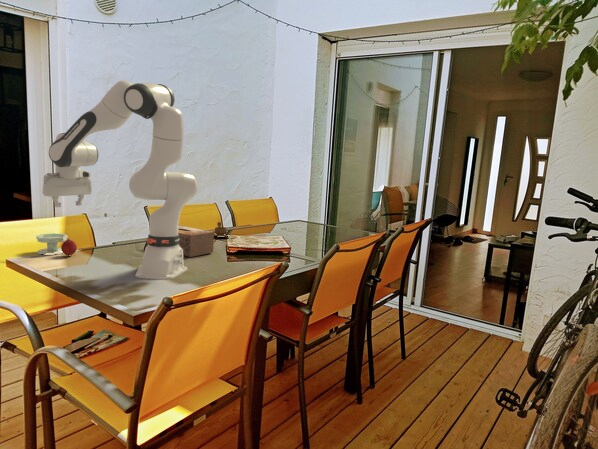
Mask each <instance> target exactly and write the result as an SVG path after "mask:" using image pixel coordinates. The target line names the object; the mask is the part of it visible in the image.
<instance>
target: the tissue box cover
mask: <svg viewBox="0 0 598 449" xmlns="http://www.w3.org/2000/svg"><path fill="white" fill-rule="evenodd" d="M214 232H215V231H211V230H207V229H206V230H205V229H199V228H195V227H190V226H186V225H179V228H178V234H179V238H180V240H179V246H180V247H181V248H182V249H183V257H184V256H185V257H187V258H189V257H190V258H192V257H193V258H194V257H196V256H197V257H198V256H202V255H206V254H211V253H214V244H215V243H214V238H215V237H214Z"/></svg>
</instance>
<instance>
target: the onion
mask: <svg viewBox="0 0 598 449" xmlns="http://www.w3.org/2000/svg"><path fill="white" fill-rule="evenodd" d="M77 247H78V246H77V244H76V242H74V240H72V239H71V238H70V237H68V238H67V240H66V241H64V242H62V244H61V247H60V248H61V250H62V252H63V253H64V254H63V255H65V256H67V255H71V256H72V255H74V254H75V253H76V251H77V250H78V248H77Z"/></svg>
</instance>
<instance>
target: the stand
mask: <svg viewBox="0 0 598 449" xmlns="http://www.w3.org/2000/svg"><path fill="white" fill-rule="evenodd" d="M68 238H69V236H68V234H65V233H54V232H53V233H43V234H41V233H40V234H39V235H36V238H35V239H36V240H37V242H38V243H42V244H44V243H45V244H46V247H45V248H43V249H39V250H37V255H39V254H46V253H54V252H62V250H61V247H59V245H58V244H59V243H64V242H65V241H66V240H67V239H68Z"/></svg>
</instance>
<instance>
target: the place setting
mask: <svg viewBox="0 0 598 449" xmlns="http://www.w3.org/2000/svg"><path fill="white" fill-rule="evenodd" d="M216 224H217V226H216V227H214V231H213V232H214V233H216V234H217V235H215V234H214V236H226V235H224V234H226V233H230V234H231V235H232V233H231V232H228V228H227V227H224V226H222V222H221V221H217V223H216ZM230 234H228V235H230ZM231 235H230V236H231Z"/></svg>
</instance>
